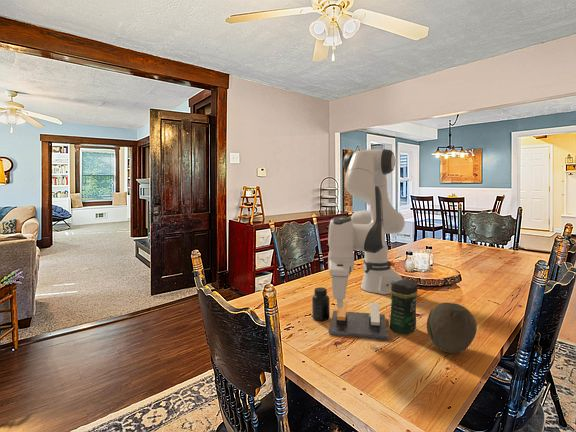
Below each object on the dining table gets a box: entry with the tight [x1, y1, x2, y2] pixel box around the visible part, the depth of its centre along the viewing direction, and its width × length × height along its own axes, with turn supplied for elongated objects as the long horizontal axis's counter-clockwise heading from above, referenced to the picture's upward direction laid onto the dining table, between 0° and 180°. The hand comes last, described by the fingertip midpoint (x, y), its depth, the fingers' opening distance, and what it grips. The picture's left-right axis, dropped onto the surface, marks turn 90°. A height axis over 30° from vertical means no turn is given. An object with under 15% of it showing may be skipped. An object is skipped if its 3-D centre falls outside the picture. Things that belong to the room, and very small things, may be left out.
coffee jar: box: [389, 277, 418, 336], centre depth 118 cm, size 10×8×19 cm
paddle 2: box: [369, 302, 381, 326], centre depth 120 cm, size 10×4×2 cm, turn 167°
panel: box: [328, 310, 389, 341], centre depth 122 cm, size 18×20×3 cm
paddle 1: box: [336, 301, 348, 321], centre depth 123 cm, size 10×4×2 cm, turn 167°
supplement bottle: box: [311, 287, 331, 323], centre depth 129 cm, size 7×7×12 cm
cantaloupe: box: [426, 301, 478, 354], centre depth 104 cm, size 14×14×15 cm
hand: (341, 302), depth 115 cm, fingers open, 8 cm apart
